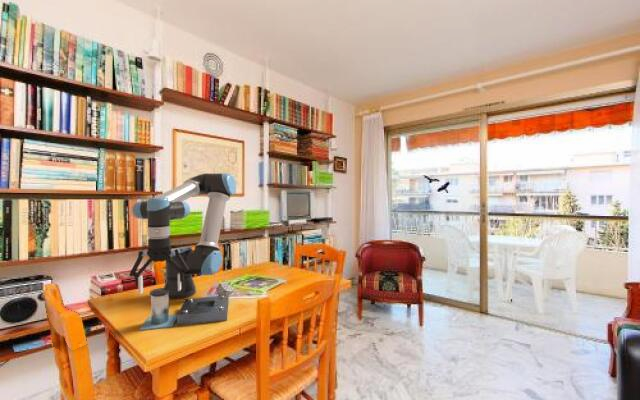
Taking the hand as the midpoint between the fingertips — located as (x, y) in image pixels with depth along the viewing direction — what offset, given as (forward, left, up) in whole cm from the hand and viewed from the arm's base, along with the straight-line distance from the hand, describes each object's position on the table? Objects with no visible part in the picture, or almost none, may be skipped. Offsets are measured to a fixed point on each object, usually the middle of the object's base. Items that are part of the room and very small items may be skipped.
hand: (160, 291), depth 113 cm
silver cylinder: (0, 0, -11) cm, 12 cm away
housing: (-4, +16, -12) cm, 20 cm away
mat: (0, 0, -12) cm, 12 cm away
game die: (-21, +23, -12) cm, 33 cm away
